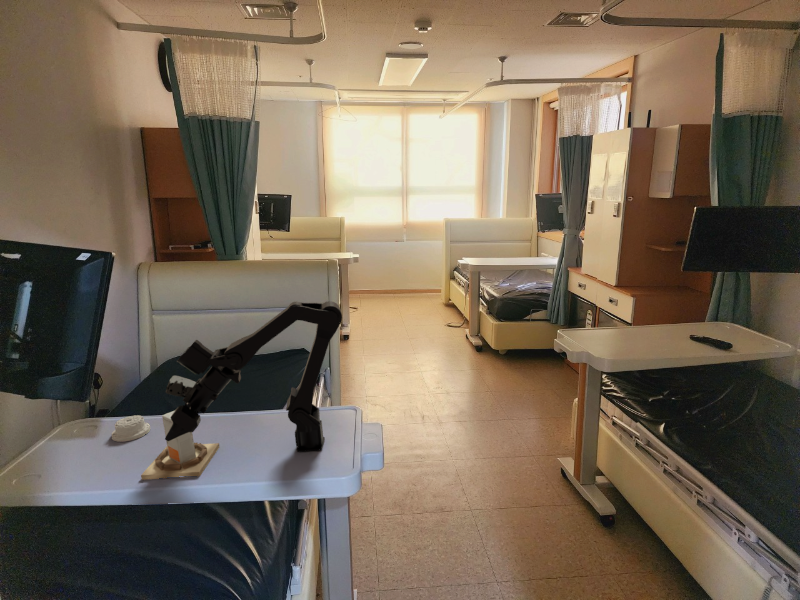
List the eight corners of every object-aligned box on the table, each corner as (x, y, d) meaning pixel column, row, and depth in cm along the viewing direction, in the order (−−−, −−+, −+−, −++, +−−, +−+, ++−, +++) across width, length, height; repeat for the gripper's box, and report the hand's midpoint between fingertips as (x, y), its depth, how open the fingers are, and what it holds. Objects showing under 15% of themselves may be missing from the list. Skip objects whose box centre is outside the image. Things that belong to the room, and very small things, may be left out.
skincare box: (168, 458, 126) (161, 415, 124) (184, 451, 130) (177, 408, 127) (181, 465, 123) (173, 420, 120) (197, 458, 126) (190, 414, 123)
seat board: (219, 447, 133) (218, 439, 133) (199, 476, 120) (198, 467, 119) (167, 450, 133) (166, 442, 133) (141, 479, 119) (140, 470, 119)
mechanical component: (103, 441, 141) (134, 443, 139) (101, 427, 140) (131, 429, 138) (129, 425, 150) (158, 427, 148) (126, 412, 149) (155, 413, 147)
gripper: (193, 354, 131) (155, 398, 131) (174, 379, 113) (130, 430, 113) (227, 378, 133) (190, 422, 134) (214, 407, 115) (172, 456, 116)
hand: (171, 431), depth 124 cm, fingers open, 9 cm apart
